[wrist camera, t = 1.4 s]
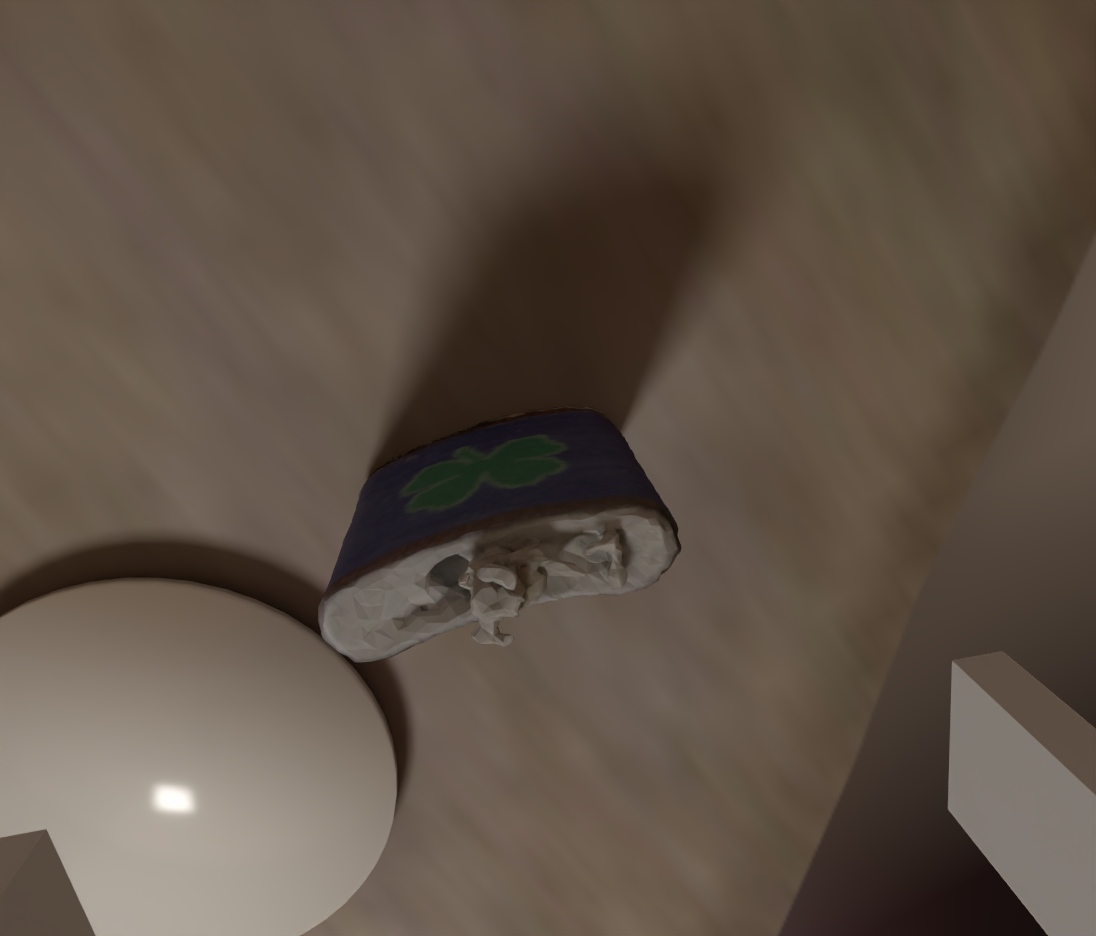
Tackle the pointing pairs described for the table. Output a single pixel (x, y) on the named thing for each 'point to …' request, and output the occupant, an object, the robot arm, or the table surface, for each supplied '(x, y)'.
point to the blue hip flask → (494, 532)
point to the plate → (191, 758)
